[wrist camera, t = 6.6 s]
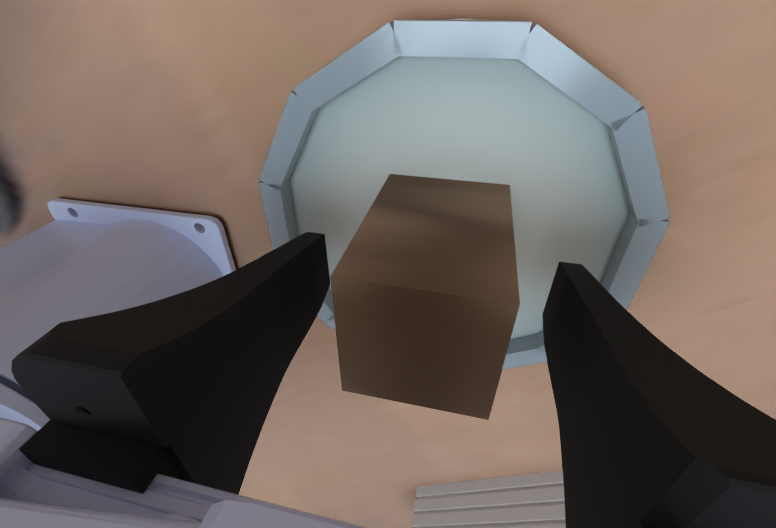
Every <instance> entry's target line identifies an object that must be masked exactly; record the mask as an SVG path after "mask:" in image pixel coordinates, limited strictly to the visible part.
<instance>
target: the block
mask: <svg viewBox="0 0 776 528" xmlns="http://www.w3.org/2000/svg"><path fill="white" fill-rule="evenodd" d="M330 280H331V289H332V299H333V308H334V317H335V327H336V336H337V346H338V355H339V365H340V374H341V384H342V390H343V391H348V392H353V393H358V394H363V395H368V396H373V397H378V398H383V399H388V400H393V401H398V402H403V403H408V404H413V405H418V406H423V407H428V408H432V409H437V410H442V411H447V412H452V413H457V414H462V415H467V416H472V417H477V418H482V419H487V420H488V419H489V416H490V412H491V408H492V405H493V401H494V397H495V394H496V390H497V386H498V383H499V379H500V375H501V372H502V368H503V364H504V361H505V357H506V353H507V350H508V346H509V343H510V339H511V335H512V332H513V328H514V324H515V321H516V317H517V313H518V310H519V306H520V298H519V287H518V275H517V264H516V252H515V240H514V229H513V217H512V205H511V194H510V185H506V184H495V183H484V182H473V181H462V180H451V179H441V178H430V177H419V176H408V175H397V174H390V175H389V176H388V178H387V180H386V181H385V183H384V185H383V187H382V188H381V190H380V192H379V193H378V195H377V197H376V199H375V200H374V202H373V204H372V206H371V207H370V209H369V211H368V212H367V214H366V216H365V218H364V219H363V221H362V223H361V224H360V226H359V228H358V230H357V231H356V233H355V235H354V236H353V238H352V240H351V242H350V243H349V245H348V247H347V249H346V250H345V252H344V254H343V255H342V257H341V259H340V261H339V262H338V264H337V266H336V267H335V269H334V271H333V273H332V274H331V276H330Z"/></svg>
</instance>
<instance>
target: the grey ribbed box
mask: <svg viewBox="0 0 776 528" xmlns="http://www.w3.org/2000/svg"><path fill="white" fill-rule="evenodd" d="M416 497H417V498H418V500H415V503H414V509H413V511H414V512H415V513H416V515H412V522H411V527H412V528H566V523H565V499H564V482H563V470H562V471H553V472H544V473H536V474H527V475H518V476H509V477H500V478H491V479H482V480H474V481H465V482H456V483H447V484H438V485H429V486H420V487H417V490H416Z"/></svg>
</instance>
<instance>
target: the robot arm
mask: <svg viewBox="0 0 776 528" xmlns="http://www.w3.org/2000/svg"><path fill="white" fill-rule="evenodd" d="M48 209H49V211H50V212H51V214H52V216H53V218H54V219H55V220H54V221H52V222H50V223H48V224H46V225H44V226H42V227H40V228H38V229H36V230H34V231H32V232H31V233H29V234H27V235H25V236H23V237H21V238H19V239H17V240H15V241H13V242H11V243H9V244H7V245H5V246H3V247H1V248H0V528H365V527H361V526H357V525H353V524H349V523H345V522H342V521H338V520H334V519H330V518H326V517H322V516H319V515H315V514H311V513H307V512H303V511H299V510H296V509H292V508H288V507H284V506H280V505H276V504H273V503H269V502H265V501H261V500H256V499H252V498H249V497H245V496H241V495H238V494H239V491H240V488H241V485H242V482H243V479H244V476H245V473H246V470H247V467H248V464H249V461H250V459H251V456H252V453H253V451H254V448H255V445H256V442H257V440H258V437H259V434H260V432H261V429H262V426H263V424H264V421H265V419H266V417H267V414H268V412H269V409H270V407H271V404H272V402H273V399H274V397H275V395H276V392H277V390H278V388H279V385H280V383H281V381H282V378H283V376H284V374H285V372H286V370H287V368H288V366H289V364H290V362H291V360H292V359H293V357H294V355H295V353H296V352H297V350H298V348H299V346H300V345H301V343H302V341H303V339H304V338H305V336H306V334H307V332H308V331H309V329H310V327H311V325H312V324H313V322H314V320H315V318H316V316H317V315H318V313H319V311H320V309H321V307H322V304H323V302H324V299H325V297H326V294H327V291H328V289H329V286H330V276H329V267H328V259H327V250H326V241H325V234H321V233H313V232H306V233H304V234H302V235H300V236H298V237H296V238H294V239H292V240H290V241H289V242H287V243H285V244H283V245H282V246H280V247H278V248H276V249H275V250H273V251H271V252H269V253H267V254H266V255H264V256H262V257H260V258H259V259H257V260H255V261H253V262H251V263H249V264H247V265H245V266H243V267H241V268H239V269H237V270H236V268H235V265H234V261H233V258H232V254H231V251H230V248H229V244H228V241H227V237H226V234H225V230H224V227H223V225H222V223H221V222H220V221H219V220H218V219H217V218H215V217H212V216H206V215H198V214H189V213H180V212H172V211H163V210H155V209H146V208H137V207H129V206H120V205H111V204H103V203H94V202H86V201H77V200H68V199H60V198H56V199H53V200H51V201H49V202H48ZM200 224H201V225H202V226H203V227H204V228H203V227H202V226H201V225H200ZM543 337H544V347H545V352H546V357H547V363H548V368H549V373H550V378H551V383H552V388H553V393H554V398H555V403H556V408H557V414H558V421H559V429H560V441H561V453H562V467H563V482H564V499H565V523H566V528H776V420H775V419H773V418H771V417H770V416H768V415H766V414H764V413H763V412H761V411H759V410H758V409H756V408H755V407H753V406H751V405H750V404H748V403H746V402H745V401H743V400H742V399H740V398H738V397H737V396H735V395H734V394H732V393H731V392H729V391H728V390H726V389H725V388H723V387H722V386H720V385H719V384H717V383H716V382H714V381H713V380H711V379H710V378H708V377H707V376H706V375H704V374H703V373H701V372H700V371H699V370H697V369H696V368H694V367H693V366H692V365H690V364H689V363H688V362H686V361H685V360H684V359H682V358H681V357H680V356H679V355H677V354H676V353H675V352H673V351H672V350H671V349H670V348H668V347H667V346H666V345H665V344H663V343H662V342H661V341H660V340H659V339H657V338H656V337H655V336H654V335H653V334H652V333H651V332H649V331H648V330H647V329H646V328H645V327H644V326H643V325H642V324H640V323H639V322H638V321H637V320H636V319H635V318H634V317H633V316H632V315H631V314H630V313H629V312H628V311H627V310H626V309H625V308H624V307H623V306H622V305H621V304H620V303H619V302H618V301H617V300H616V299H615V298H614V297H613V296H612V295H611V294H610V293H609V292H608V291H607V290H606V289H605V288H604V287H603V286H602V285H601V284H600V283H599V282H598V280H597V279H596V278H595V277H594V276H593V275H592V274H591V273H590V272H589V271H588V270H587V269H586V268H585V267H584V266H583V265H582V264H576V263H567V262H559V263H558V267H557V270H556V273H555V276H554V279H553V282H552V286H551V289H550V292H549V295H548V298H547V301H546V305H545V308H544V311H543Z"/></svg>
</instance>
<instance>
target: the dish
mask: <svg viewBox="0 0 776 528" xmlns="http://www.w3.org/2000/svg"><path fill="white" fill-rule="evenodd" d="M293 89H294V90H293V91H291V92H290V95H289V98H288V100H287V103H286V106H285V109H284V111H283V114H282V117H281V119H280V122H279V125H278V128H277V130H276V133H275V136H274V139H273V141H272V144H271V147H270V150H269V152H268V155H267V158H266V160H265V163H264V166H263V169H262V171H261V174H260V177H259V180H260V182H259V188H260V192H261V197H262V202H263V207H264V211H265V216H266V221H267V225H268V230H269V235H270V240H271V244H272V249H273V250H275V249H276V248H278V247H280V246H282V245H283V244H285V243H287V242H289V241H290V240H292V239H294V238H296V237H298V236H300V235H302V234H304V233H306V232H313V233H321V234H325V241H326V250H327V259H328V267H329V276H331V274H332V273H333V271H334V269H335V267H336V266H337V264H338V262H339V261H340V259H341V257H342V255H343V254H344V252H345V250H346V249H347V247H348V245H349V243H350V242H351V240H352V238H353V236H354V235H355V233H356V231H357V230H358V228H359V226H360V224H361V223H362V221H363V219H364V218H365V216H366V214H367V212H368V211H369V209H370V207H371V206H372V204H373V202H374V200H375V199H376V197H377V195H378V193H379V192H380V190H381V188H382V187H383V185H384V183H385V181H386V180H387V178H388V176H389V175H390V174H397V175H408V176H419V177H430V178H441V179H451V180H462V181H473V182H484V183H495V184H506V185H510V194H511V205H512V217H513V229H514V240H515V252H516V264H517V275H518V287H519V298H520V306H519V310H518V313H517V317H516V321H515V324H514V328H513V332H512V335H511V339H510V343H509V346H508V350H507V353H506V357H505V361H504V364H503V368H502V369H507V368H513V367H518V366H524V365H530V364H535V363H541V362H546V361H547V357H546V352H545V347H544V337H543V311H544V308H545V305H546V301H547V298H548V295H549V292H550V289H551V286H552V282H553V279H554V276H555V273H556V270H557V267H558V263H559V262H567V263H576V264H582V265H583V266H584V267H585V268H586V269H587V270H588V271H589V272H590V273H591V274H592V275H593V276H594V277H595V278H596V279H597V280H598V282H599V283H600V284H601V285H602V286H603V287H604V288H605V289H606V290H607V291H608V292H609V293H610V294H611V295H612V296H613V297H614V298H615V299H616V300H617V301H618V302H619V303H620V304H621V305H622V306H623V307H624V308H625V309H628V307H629V305H630V303H631V301H632V299H633V297H634V295H635V293H636V290H637V288H638V286H639V284H640V282H641V280H642V278H643V276H644V274H645V272H646V270H647V268H648V266H649V264H650V262H651V260H652V258H653V255H654V253H655V251H656V249H657V247H658V245H659V243H660V241H661V239H662V237H663V235H664V233H665V231H666V229H667V227H668V225H669V223H670V222H669V220H668V219H669V218H670V214H669V210H668V205H667V201H666V196H665V192H664V188H663V183H662V179H661V174H660V170H659V165H658V161H657V156H656V152H655V147H654V143H653V138H652V134H651V130H650V125H649V121H648V116H647V112H646V108H644V107H643V106H642V105H643V104H642V103H641V102H639V101H638V100H637V99H635V98H634V97H633V96H631V95H630V94H629V93H627V92H626V91H625V90H624V89H622V88H621V87H620V86H618V85H617V84H616V83H614V82H613V81H612V80H610V79H609V78H608V77H606V76H605V75H604V74H602V73H601V72H600V71H598V70H597V69H596V68H594V67H593V66H592V65H590V64H589V63H588V62H587V61H585V60H584V59H583V58H581V57H580V56H579V55H577V54H576V53H575V52H573V51H572V50H571V49H569V48H568V47H567V46H565V45H564V44H563V43H561V42H560V41H559V40H557V39H556V38H555V37H553V36H552V35H551V34H550V33H548V32H547V31H546V30H544V29H543V28H542V27H540V26H539V25H538V24H536V23H535V22H533V24H532V25H531V21H529V20H487V19H475V18H453V19H399V20H395V21H392V22H389V23H387V24H386V25H384V26H383V27H381V28H380V29H378V30H377V31H376V32H374V33H373V34H371V35H370V36H368V37H367V38H365V39H364V40H363V41H361V42H360V43H358V44H357V45H355V46H354V47H352V48H351V49H350V50H348V51H347V52H345V53H344V54H342V55H341V56H339V57H338V58H337V59H335V60H334V61H332V62H331V63H329V64H328V65H326V66H325V67H323V68H322V69H321V70H319V71H318V72H316V73H315V74H313V75H312V76H310V77H309V78H308V79H306V80H305V81H303V82H302V83H300V84H299V85H297V86H296V87H295V88H293ZM317 316H318V317H319V318H320V319H321V321H322V322H325V321H326V323H325V324H326V325H327V326H329V327H331V328H333V329H334V330H336V327H335V317H334V308H333V299H332V289H331V280H330V286H329V289H328V291H327V294H326V297H325V299H324V302H323V304H322V307H321V309H320V311H319V313H318V315H317Z"/></svg>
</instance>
